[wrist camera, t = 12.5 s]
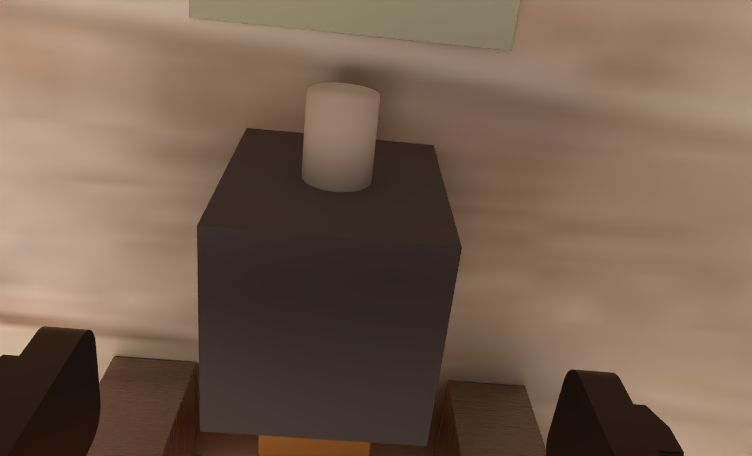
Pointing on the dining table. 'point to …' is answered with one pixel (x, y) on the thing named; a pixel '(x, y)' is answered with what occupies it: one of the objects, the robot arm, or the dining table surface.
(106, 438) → the housing
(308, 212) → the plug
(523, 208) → the dining table surface
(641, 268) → the dining table surface
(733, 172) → the dining table surface
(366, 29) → the pad
